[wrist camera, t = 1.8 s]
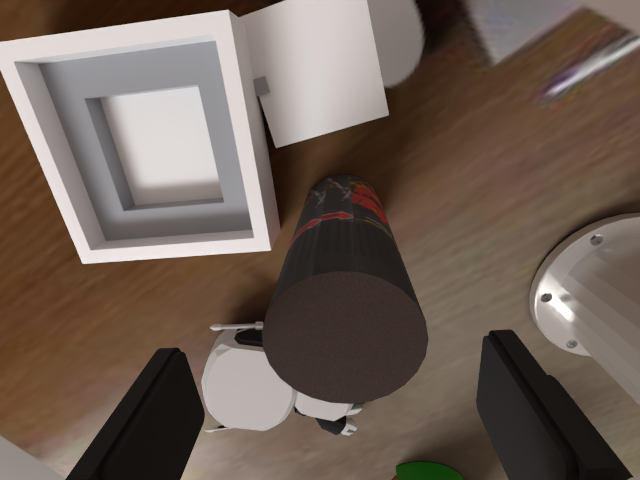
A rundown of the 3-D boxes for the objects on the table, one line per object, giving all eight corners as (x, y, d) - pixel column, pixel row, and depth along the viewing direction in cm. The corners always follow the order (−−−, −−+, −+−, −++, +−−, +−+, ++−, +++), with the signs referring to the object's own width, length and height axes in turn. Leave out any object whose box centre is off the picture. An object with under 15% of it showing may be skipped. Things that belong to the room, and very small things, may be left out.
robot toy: (381, 320, 31) (216, 297, 29) (391, 355, 26) (200, 331, 25) (352, 412, 35) (210, 396, 34) (357, 454, 31) (196, 438, 30)
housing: (247, 25, 21) (228, 9, 17) (280, 229, 27) (271, 250, 23) (46, 52, 22) (-11, 43, 19) (116, 242, 28) (82, 263, 24)
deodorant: (291, 190, 25) (232, 301, 11) (366, 162, 24) (400, 246, 10) (320, 256, 27) (300, 417, 14) (390, 233, 26) (446, 382, 12)
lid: (360, -23, 20) (361, -29, 19) (387, 114, 23) (389, 115, 22) (214, 30, 21) (209, 27, 20) (257, 152, 24) (253, 154, 23)
